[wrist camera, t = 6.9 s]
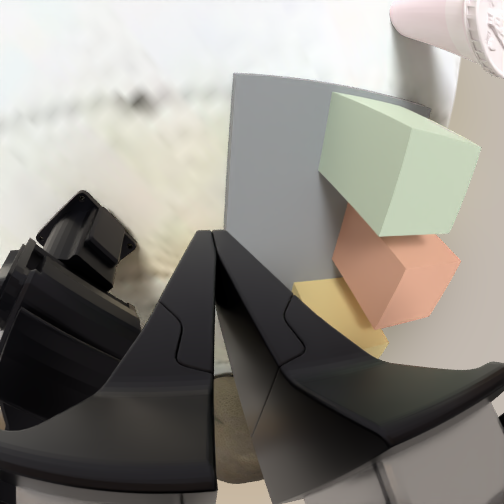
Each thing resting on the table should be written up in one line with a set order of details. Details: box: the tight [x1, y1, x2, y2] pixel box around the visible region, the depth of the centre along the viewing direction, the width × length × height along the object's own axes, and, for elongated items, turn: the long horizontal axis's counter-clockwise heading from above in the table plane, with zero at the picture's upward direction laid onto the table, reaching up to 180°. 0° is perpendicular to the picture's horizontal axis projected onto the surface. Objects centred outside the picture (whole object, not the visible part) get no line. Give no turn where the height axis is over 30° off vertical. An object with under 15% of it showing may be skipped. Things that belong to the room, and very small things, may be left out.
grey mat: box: [224, 73, 431, 292], centre depth 26 cm, size 16×24×1 cm, turn 175°
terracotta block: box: [332, 202, 461, 330], centre depth 23 cm, size 6×6×8 cm
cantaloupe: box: [214, 376, 264, 484], centre depth 34 cm, size 14×14×15 cm
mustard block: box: [292, 277, 389, 359], centre depth 28 cm, size 6×6×8 cm
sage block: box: [318, 92, 481, 237], centre depth 17 cm, size 6×6×8 cm
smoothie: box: [390, 0, 504, 79], centre depth 10 cm, size 6×6×14 cm
